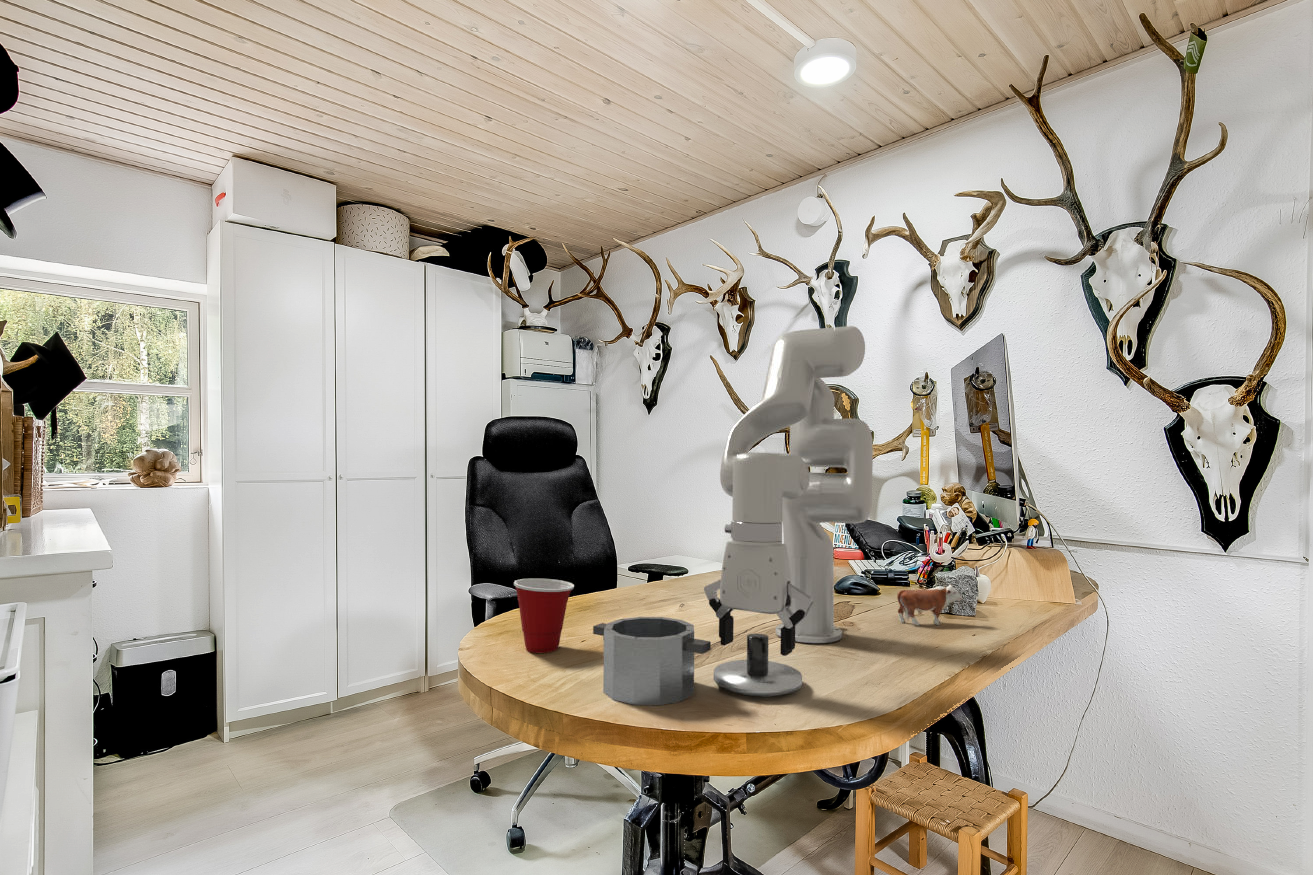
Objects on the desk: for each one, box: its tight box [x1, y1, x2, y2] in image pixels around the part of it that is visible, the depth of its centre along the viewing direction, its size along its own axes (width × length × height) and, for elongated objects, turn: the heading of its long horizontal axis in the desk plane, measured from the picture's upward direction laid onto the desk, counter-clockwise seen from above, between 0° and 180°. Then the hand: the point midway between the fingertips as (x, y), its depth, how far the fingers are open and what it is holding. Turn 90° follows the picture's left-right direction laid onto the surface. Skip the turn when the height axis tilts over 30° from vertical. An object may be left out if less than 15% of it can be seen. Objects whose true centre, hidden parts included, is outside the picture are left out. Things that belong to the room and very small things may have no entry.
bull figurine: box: [897, 584, 963, 627], centre depth 137 cm, size 4×13×8 cm, turn 91°
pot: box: [592, 616, 712, 706], centre depth 97 cm, size 13×19×9 cm
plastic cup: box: [513, 578, 575, 654], centre depth 117 cm, size 11×11×12 cm
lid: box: [713, 633, 803, 698], centre depth 98 cm, size 13×13×8 cm
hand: (756, 648), depth 98 cm, fingers open, 9 cm apart
